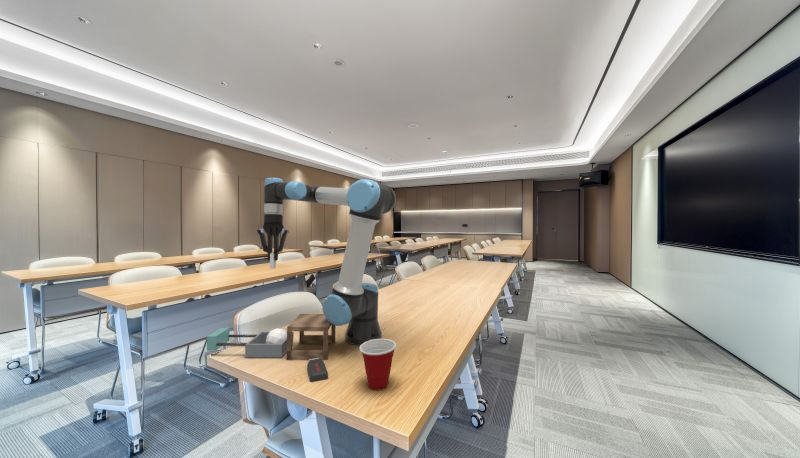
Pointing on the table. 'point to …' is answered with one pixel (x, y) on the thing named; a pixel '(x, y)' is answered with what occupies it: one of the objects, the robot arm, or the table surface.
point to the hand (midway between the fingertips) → (272, 268)
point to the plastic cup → (378, 361)
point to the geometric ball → (276, 336)
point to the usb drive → (317, 370)
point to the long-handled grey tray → (248, 344)
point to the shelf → (310, 336)
